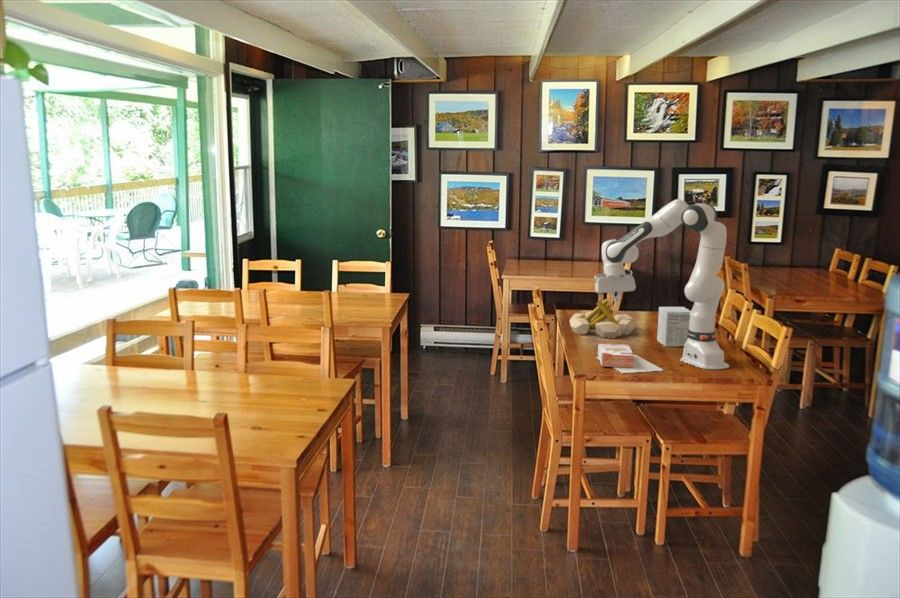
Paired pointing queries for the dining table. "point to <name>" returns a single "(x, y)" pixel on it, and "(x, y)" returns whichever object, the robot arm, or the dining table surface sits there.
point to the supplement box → (673, 326)
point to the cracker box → (615, 355)
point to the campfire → (602, 321)
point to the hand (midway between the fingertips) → (617, 301)
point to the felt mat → (638, 366)
